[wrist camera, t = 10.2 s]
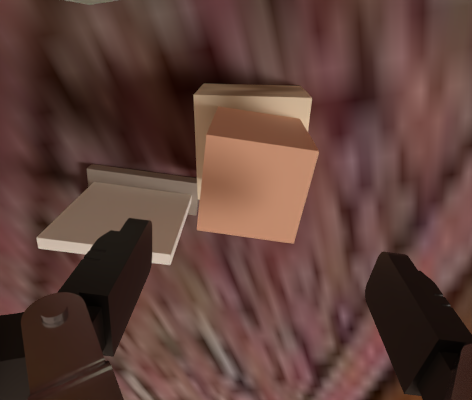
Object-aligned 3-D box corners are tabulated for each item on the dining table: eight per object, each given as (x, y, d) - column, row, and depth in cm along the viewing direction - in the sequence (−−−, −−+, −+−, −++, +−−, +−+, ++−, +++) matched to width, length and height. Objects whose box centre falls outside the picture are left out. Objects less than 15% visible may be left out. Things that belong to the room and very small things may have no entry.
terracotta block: (299, 118, 19) (319, 151, 14) (282, 191, 22) (293, 243, 16) (218, 106, 19) (206, 134, 14) (209, 181, 22) (196, 229, 16)
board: (200, 178, 27) (180, 241, 19) (197, 209, 28) (177, 279, 20) (91, 164, 26) (24, 220, 18) (94, 196, 28) (33, 261, 20)
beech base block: (299, 85, 23) (312, 97, 19) (290, 174, 26) (298, 202, 22) (203, 83, 23) (193, 94, 19) (206, 171, 27) (197, 199, 22)
